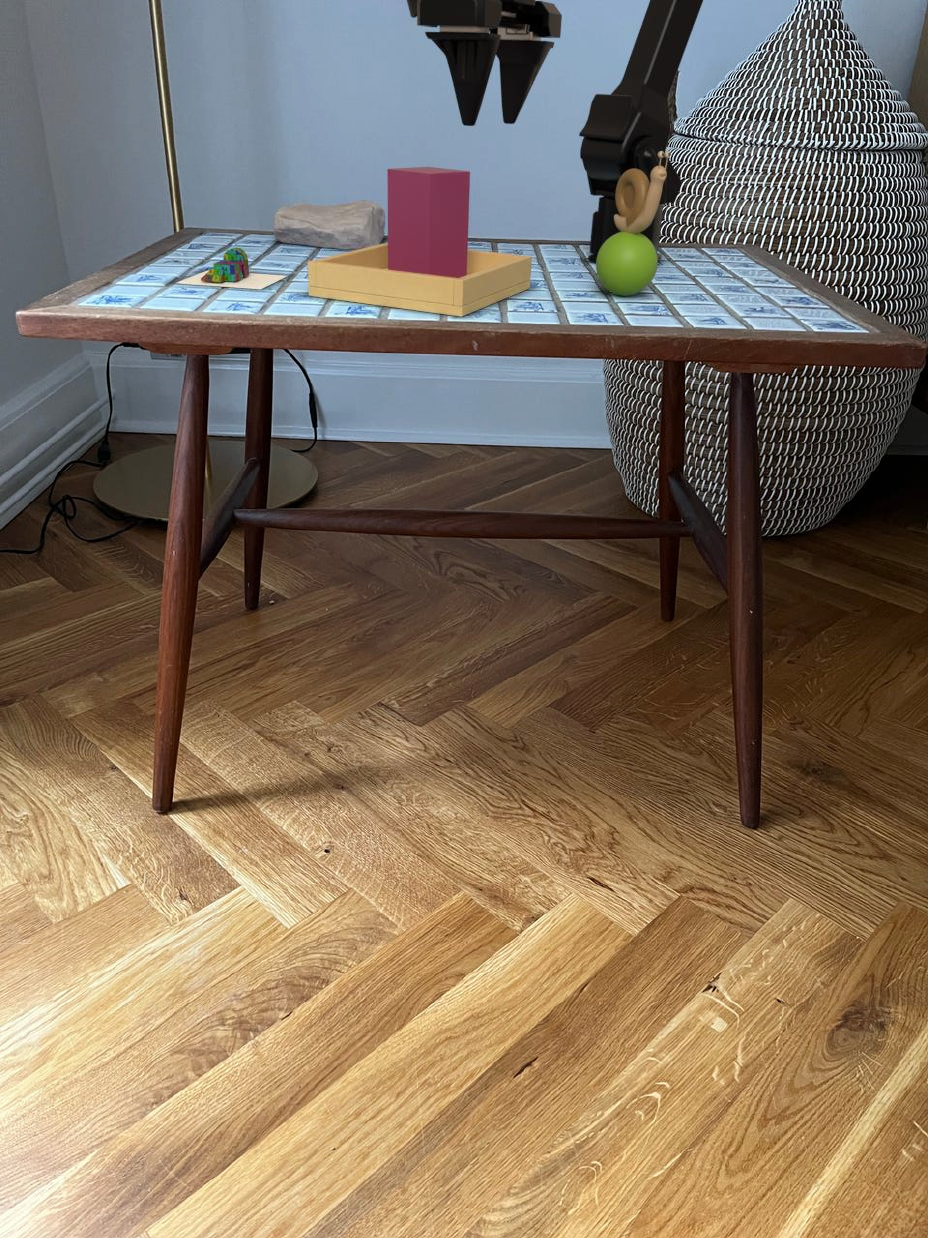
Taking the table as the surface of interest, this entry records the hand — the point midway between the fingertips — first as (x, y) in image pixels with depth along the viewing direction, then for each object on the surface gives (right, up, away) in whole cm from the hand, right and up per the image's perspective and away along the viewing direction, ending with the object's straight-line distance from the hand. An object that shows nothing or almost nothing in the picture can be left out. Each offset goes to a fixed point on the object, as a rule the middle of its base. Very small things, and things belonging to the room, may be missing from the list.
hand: (489, 124), depth 88 cm
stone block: (-18, -4, +19) cm, 26 cm away
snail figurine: (+12, -17, -2) cm, 21 cm away
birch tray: (-6, -17, -4) cm, 18 cm away
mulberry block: (-6, -16, -3) cm, 17 cm away
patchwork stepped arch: (-24, -15, -2) cm, 28 cm away
